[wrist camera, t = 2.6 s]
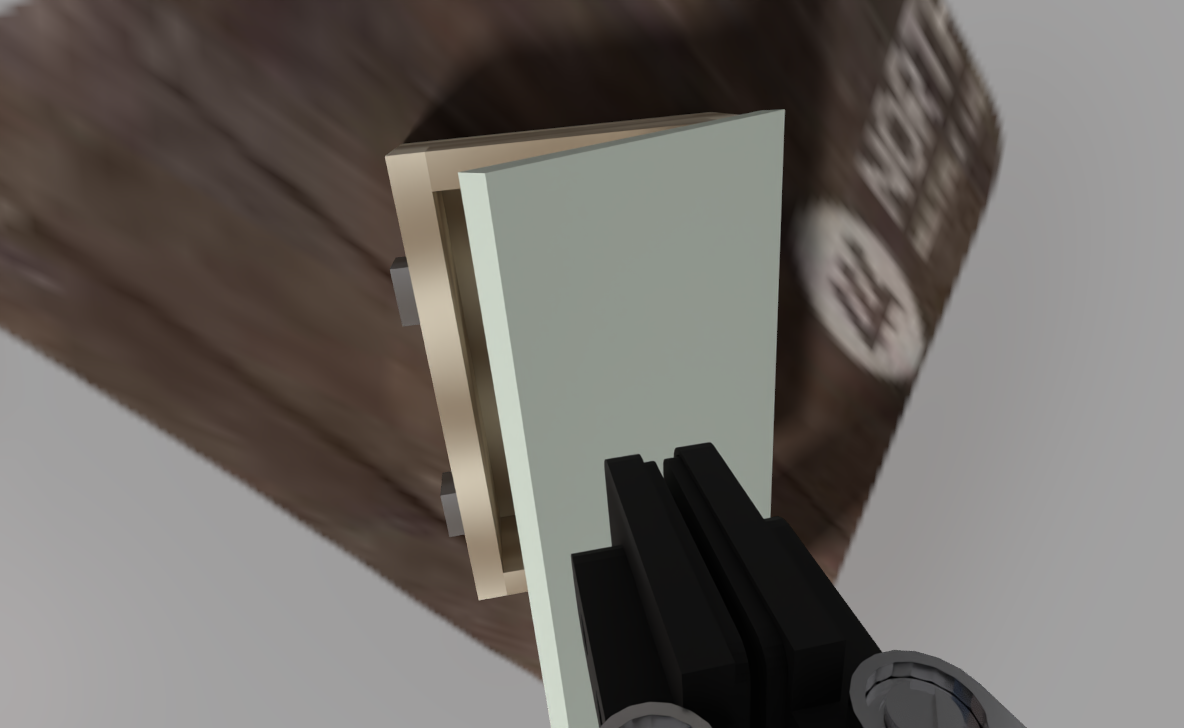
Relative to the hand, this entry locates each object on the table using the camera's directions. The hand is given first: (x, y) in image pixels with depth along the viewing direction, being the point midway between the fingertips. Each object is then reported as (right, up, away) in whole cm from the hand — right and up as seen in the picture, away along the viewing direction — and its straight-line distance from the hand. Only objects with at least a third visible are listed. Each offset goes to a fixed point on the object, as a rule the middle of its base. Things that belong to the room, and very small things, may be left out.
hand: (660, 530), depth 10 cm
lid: (+1, 0, +10) cm, 10 cm away
